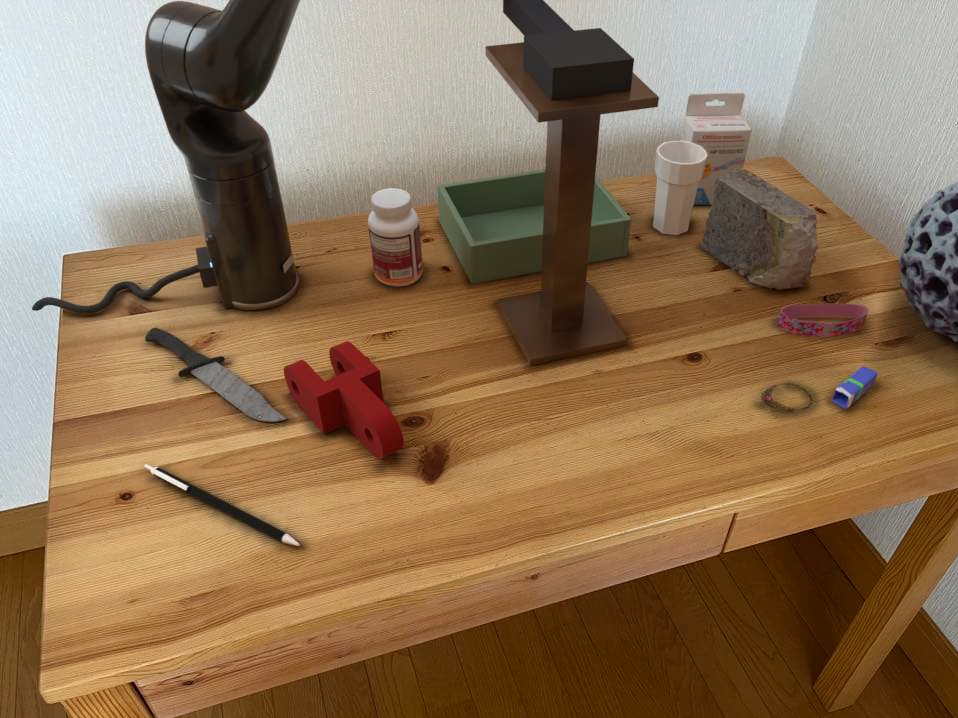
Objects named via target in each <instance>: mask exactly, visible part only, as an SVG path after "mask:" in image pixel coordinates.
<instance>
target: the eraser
mask: <svg viewBox="0 0 958 718" xmlns="http://www.w3.org/2000/svg"><path fill="white" fill-rule="evenodd" d="M877 377H878V371H876V370H874V369H872V368H870V367H867V366H865V365H864V366H861V367H860V368H859V369H857V370H856V371H855V372H854V373H853V374H852V375H850V376H849V377H848V378H847V379H845V380H844V381H843V382H842V383H840V384H839V386H837V387H836V388H835V390H834V393H833V396H832V402H833V404H835V405H837V406H838V407H841V408H842V409H844V410H847V409H849V408H850V407H851V406H852V405H853V404H854V403H855V402H856V401H858V400H859V399H860V398H861V397H862V396H863V395H864V394H866V393H867V392H868V391H869V390H870V389H871V388H872V387H873V386H874V384H875V382H876V379H877Z"/></svg>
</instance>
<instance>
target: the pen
mask: <svg viewBox="0 0 958 718" xmlns="http://www.w3.org/2000/svg"><path fill="white" fill-rule="evenodd" d="M143 468H144V469H147V470H148V471H150V473H151V475H152V476H154V477H156V478H158V479H160V480H162V481H164V482H166V483H168V484H169V485H172V486H174V487H175V488H176V489H177V488H178V489H179V490H181V491H182V492H185V493H187V494H189V495H191V496H193V497H194V498H196V499H198V500H200V501H202V502H203V503H204V502H205V503H206V504H208V505H210V506H212V507H214V508H216V509H217V510H220V511H222V512H223V513H225V514H227V515H229V516H231V517H233V518H235V519H237V520H239V521H241V522H243V523H244V524H246V525H248V526H251V527H252V528H254V529H256V530H258V531H260V532H262V533H264V534H266V535H268V536H270V537H271V538H273V539H275V540H277V541H279V542H281V543H283V544H288V545H291V546H296V547H300V546H301V544H300V543H299V542H298V541H297V540H295V538H293V537H292V536H291V535H290V534H288V533H287V532H285V531H284V530H282V529H280V528H278V527H276V526H274V525H271V524H270V523H269V522H266V521H264V520H262V519H260V518H258V517H256V516H255V515H252V514H250V513H249V512H247V511H244V510H243V509H241V508H239V507H237V506H235V505H233V504H231V503H229V502H227V501H226V500H223V499H221V498H219V497H217V496H216V495H214V494H211V493H210V492H208V491H206V490H204V489H202V488H200V487H198V486H196V485H194V484H192V483H190V482H188V481H186V480H184V479H183V478H180V477H179V476H177V475H174V474H172V473H170V472H169V471H167V470H165V469H163V468H161V467H159V466H154V467H153V466H151V465H150V464H148V463H145V464H144V465H143Z"/></svg>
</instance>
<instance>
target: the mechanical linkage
mask: <svg viewBox="0 0 958 718" xmlns="http://www.w3.org/2000/svg"><path fill="white" fill-rule="evenodd" d="M328 355H329V361H330V364H331V367H332V369H333V372H334V374H335V376H333V377H330V378H329V379H327V380H324V379H323V378H322V377H321V376H320V374H318V372H317V371H315V369H314V368H312V367H311V365H310V364H309V363H308V362H306V360H304V359H300V360H296V361H295V362H293V363H290V364H288V365H285V366H284V367H283V375H284V380H285V382H286V386H287V388H288V391H289V393H290V395H291V396H292V398H293V400H294V402H295V403H296V404H297V406H298V407H299V408H300V409H301V411H303V412H304V414H305V415H306V416H307V417H308V418H309V419H310V420H311V421H312V423H313V424H314V425H315V426H316V427H317V428H318V429H319V430H320V432H321V433H322V434H323V435H326V434H328V433H330V432H332V431H335V430H337V429H339V428H341V427H343V426H345V427H346V428H347V429H348V430H349V431H350V433H352V434H353V435H354V437H356V439H357V440H358V441H359V442H360V443H361V444H362V445H363V446H364V448H365V449H366V450H368V452H369V453H370V454H371V455H372V456H373V457H374V458H376V459H377V460H381V459H383V458H385V457H387V456H389V455H391V454H393V453H395V452H397V451H399V450H401V449H402V448H404V446H405V445H404V444H405V443H404V442H405V441H404V435H403V431H402V429H401V426H400V423H399V421H398V420H397V418H396V416H395V414H394V413H393V412H392V410H391V409H390V408H389V407H388V405H386V403H385V399H384V392H383V385H382V377H381V370H380V369H379V368H378V366H377V365H376V364H374V362H373V361H371V360H370V359H369V358H368V357H367V356H366V355H365V354H364V353H363V352H362V351H361V350H360V349H359V348H358V347H357V346H356V345H355V344H353V343H352V342H351V341H349V340H346V341H343V342H341V343H339V344H337V345H334V346H331V347H330V348H329V354H328Z"/></svg>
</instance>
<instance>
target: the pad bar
mask: <svg viewBox="0 0 958 718" xmlns="http://www.w3.org/2000/svg"><path fill="white" fill-rule="evenodd" d="M502 13H503V14H504V15H505V16H506V17H507V18H508V19H509V21H510V22H511V23H512V24H513V25H514V27H516V29H517V30H518V31H519V32H520V33H521V34H522V35H523V42H524V56H523V67H524V68H525V69H526V70H527V72H528V73H529V74H530V75H531V76H532V77H533V79H534V80H535V81H536V82H537V83H538V85H539V86H540V87H541V88H542V89H543V90H544V92H545V93H546V94H547V95H548V96H549V98H550V99H551V100H558V99H566V98H574V97H582V96H590V95H598V94H606V93H614V92H622V91H630V90H631V84H632V75H633V73H634V64H635V58H634V57H633V56H632V55H631V54H629V53H628V51H626V50H625V49H624V48H623V47H622V46H621V45H620V44H619V43H618V42H616V41H615V39H614V38H612V37H611V36H610V35H609V34H608V33H607V32H606V31H605V30H604V29H602V27H597V28H595V27H594V28H586V29H577V30H575V29H573V28H572V27H571V26H570V24H568V23H567V22H566V21H565V19H563V18H562V17H561V16H560V15H559V14H558V13H557V12H556V11H555V10H554V9H553V8H552V7H551V6H550V5H549V4H548V3H547V2H546V1H545V0H502Z"/></svg>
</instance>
